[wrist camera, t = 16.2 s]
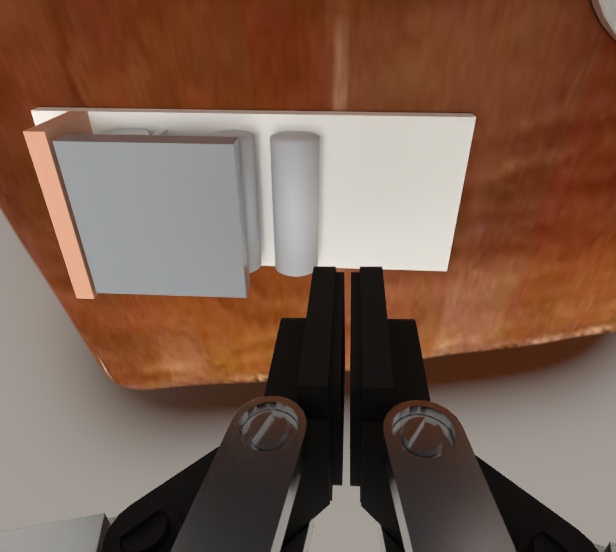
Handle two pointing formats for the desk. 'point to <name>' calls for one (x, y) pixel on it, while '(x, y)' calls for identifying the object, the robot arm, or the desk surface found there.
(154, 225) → the slab
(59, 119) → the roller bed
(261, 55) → the desk surface
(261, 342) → the desk surface
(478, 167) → the desk surface
